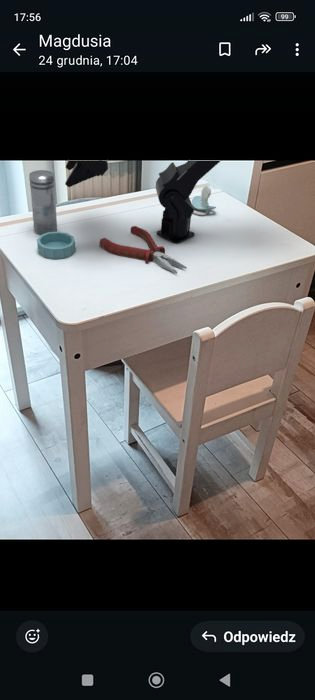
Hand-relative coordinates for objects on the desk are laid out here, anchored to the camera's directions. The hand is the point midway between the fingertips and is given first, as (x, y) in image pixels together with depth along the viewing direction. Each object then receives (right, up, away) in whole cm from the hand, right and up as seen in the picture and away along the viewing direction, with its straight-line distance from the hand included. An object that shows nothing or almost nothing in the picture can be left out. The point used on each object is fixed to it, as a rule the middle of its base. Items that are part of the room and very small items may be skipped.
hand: (67, 176), depth 119 cm
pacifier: (+30, -2, +23) cm, 38 cm away
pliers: (+15, -17, +4) cm, 23 cm away
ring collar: (-3, -15, +3) cm, 15 cm away
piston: (-6, -9, +10) cm, 15 cm away
